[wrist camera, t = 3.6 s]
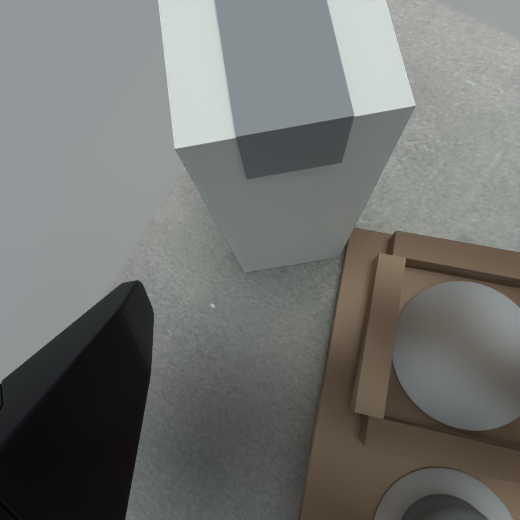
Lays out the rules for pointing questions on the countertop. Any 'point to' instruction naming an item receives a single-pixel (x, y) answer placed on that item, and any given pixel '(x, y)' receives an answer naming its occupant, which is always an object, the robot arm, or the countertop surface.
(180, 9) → the tall white box
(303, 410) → the countertop surface
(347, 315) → the wooden holder board
